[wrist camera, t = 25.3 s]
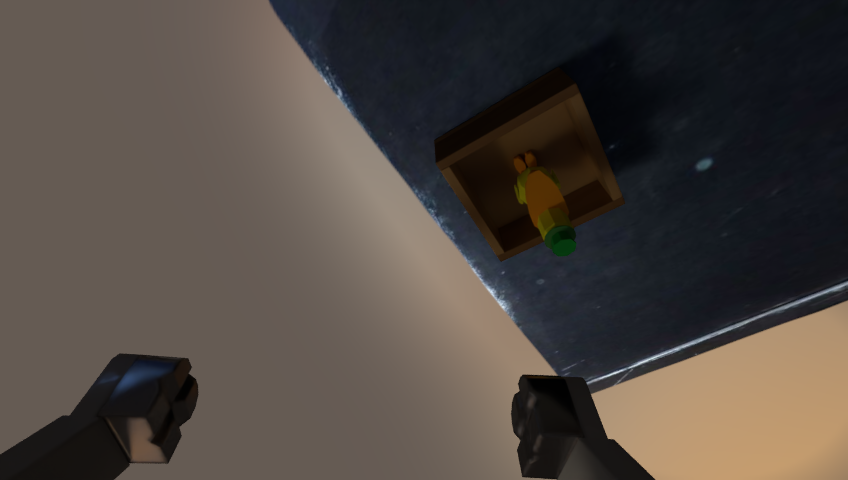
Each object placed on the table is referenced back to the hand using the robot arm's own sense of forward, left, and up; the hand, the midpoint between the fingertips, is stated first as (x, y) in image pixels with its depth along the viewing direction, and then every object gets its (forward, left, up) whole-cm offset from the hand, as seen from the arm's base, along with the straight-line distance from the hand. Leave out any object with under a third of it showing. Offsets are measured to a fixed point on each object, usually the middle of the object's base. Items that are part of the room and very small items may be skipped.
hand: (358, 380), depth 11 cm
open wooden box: (+8, +10, -29) cm, 32 cm away
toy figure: (+8, +10, -28) cm, 31 cm away
